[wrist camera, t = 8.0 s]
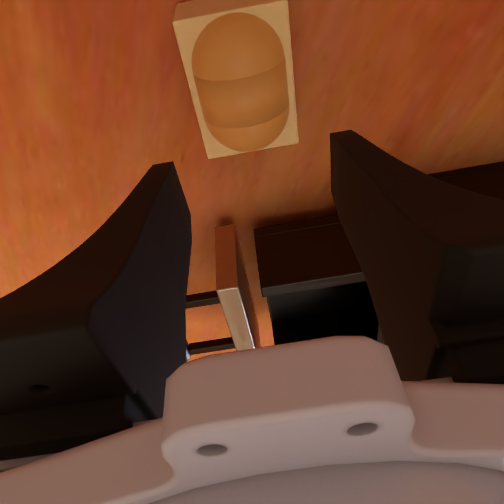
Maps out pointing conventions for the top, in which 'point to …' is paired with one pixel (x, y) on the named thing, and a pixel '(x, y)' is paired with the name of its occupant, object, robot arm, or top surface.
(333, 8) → the top surface
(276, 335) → the drawer
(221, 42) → the tan domed block
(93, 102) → the top surface
